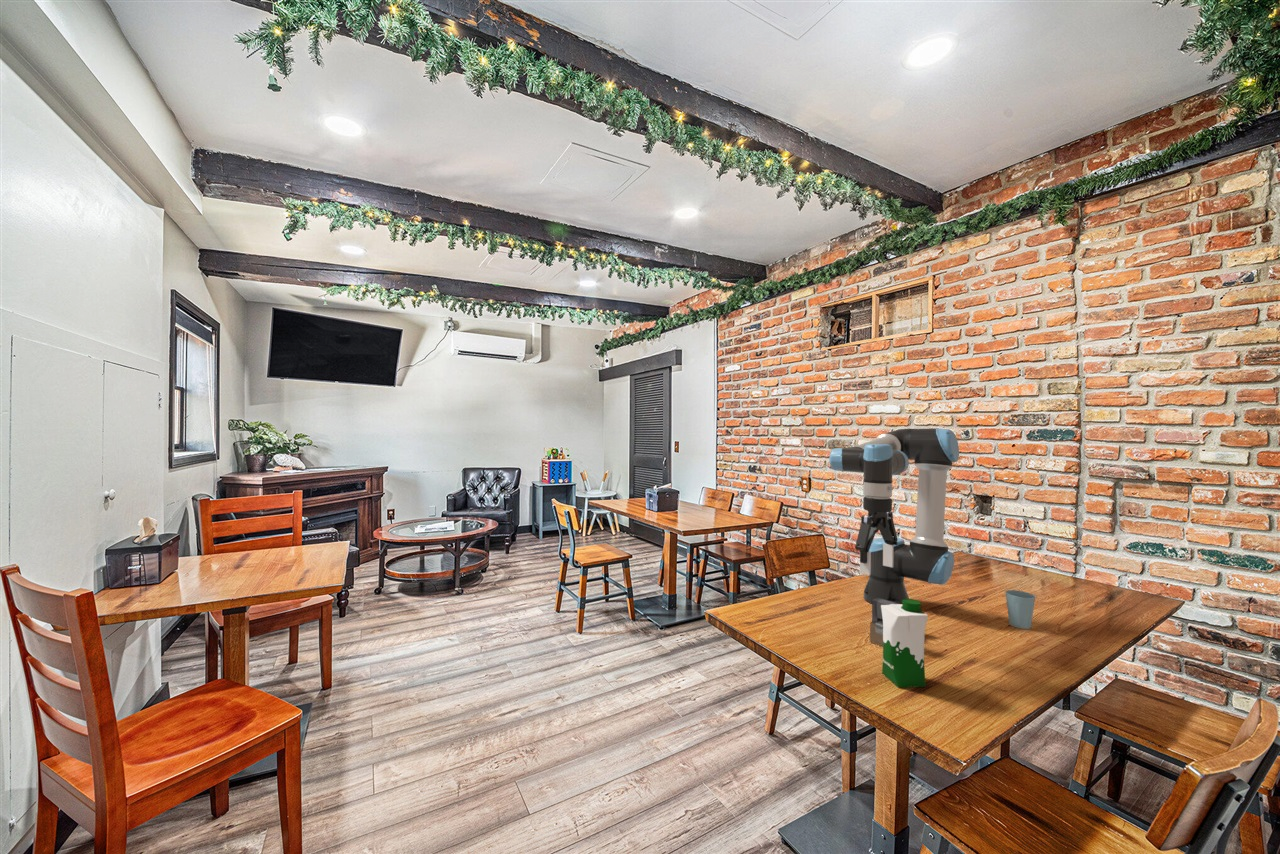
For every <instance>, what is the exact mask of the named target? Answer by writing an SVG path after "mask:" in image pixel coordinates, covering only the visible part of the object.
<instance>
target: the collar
mask: <svg viewBox="0 0 1280 854" xmlns="http://www.w3.org/2000/svg"><path fill="white" fill-rule="evenodd" d="M890 604H898V603H894V602H891V601H887V600H884V599H880V598H876V599H874V600H872V604H871V622H872V621H876V622H878V621H880V620H883V618H882V610H881V605H890Z"/></svg>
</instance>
